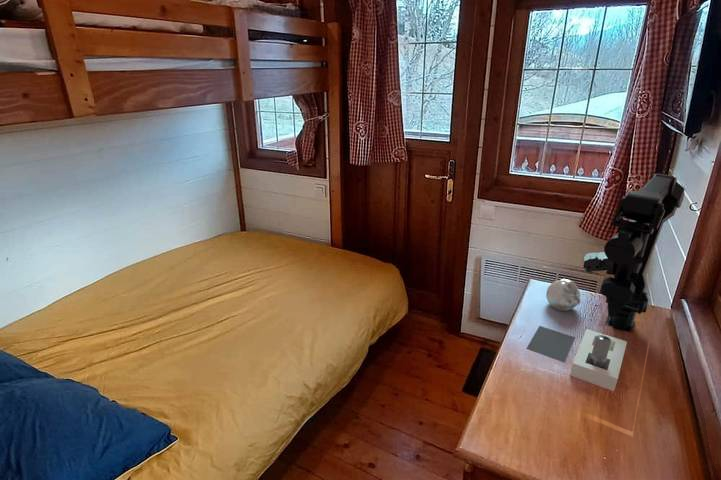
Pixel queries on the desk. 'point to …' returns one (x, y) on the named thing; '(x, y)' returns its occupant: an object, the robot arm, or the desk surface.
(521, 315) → the desk surface
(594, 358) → the peg
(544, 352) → the mat
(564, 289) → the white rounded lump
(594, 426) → the desk surface
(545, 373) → the desk surface
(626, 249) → the robot arm
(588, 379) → the hole block
